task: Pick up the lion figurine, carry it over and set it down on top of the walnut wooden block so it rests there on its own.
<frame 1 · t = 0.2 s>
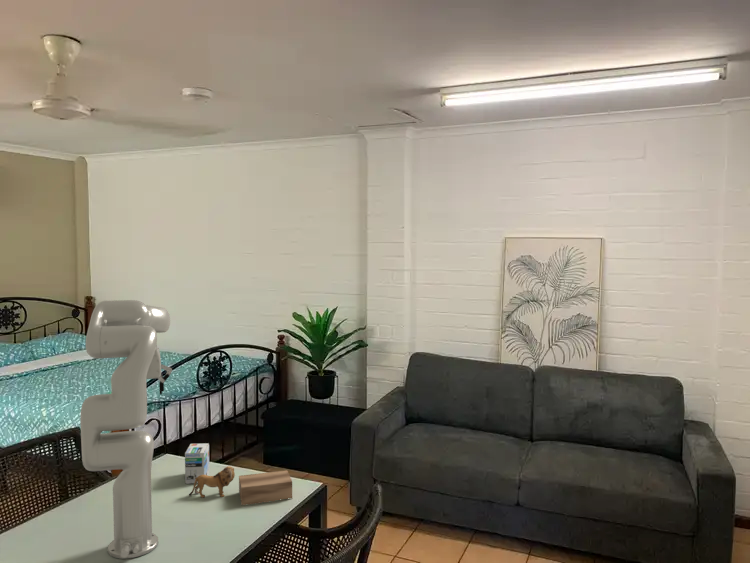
hand: (145, 394, 200), 31 cm above the table, tool pointing down, fingers open, 9 cm apart
light bulb box: (197, 478, 207), on the table
lion figurine: (213, 495, 193), on the table
walnut block: (265, 496, 192), on the table
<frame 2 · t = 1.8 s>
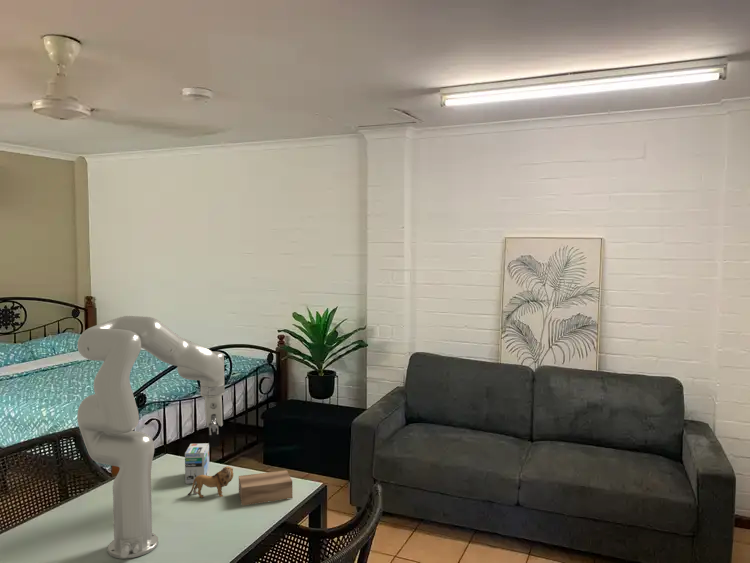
hand: (213, 441, 192), 18 cm above the table, tool pointing down, fingers open, 9 cm apart
nothing on the table moved.
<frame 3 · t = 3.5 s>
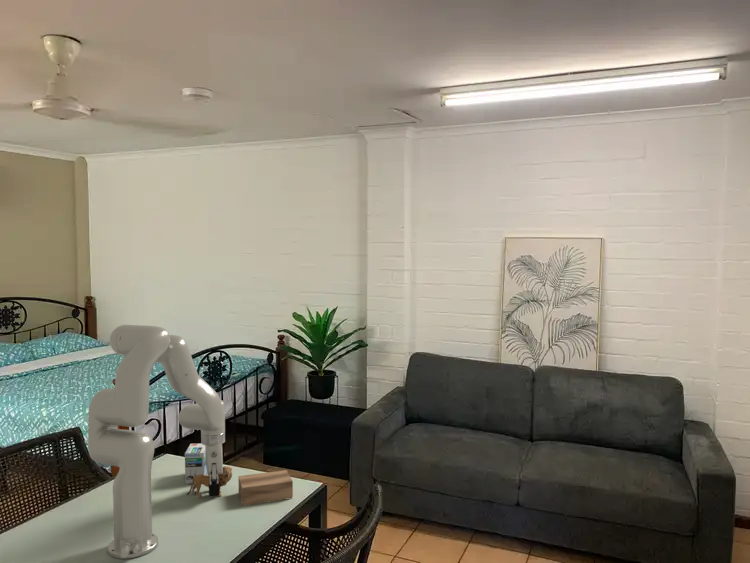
hand: (213, 491, 193), 1 cm above the table, tool pointing down, fingers open, 5 cm apart
lion figurine: (210, 494, 193), on the table, touching gripper
everything else where it was.
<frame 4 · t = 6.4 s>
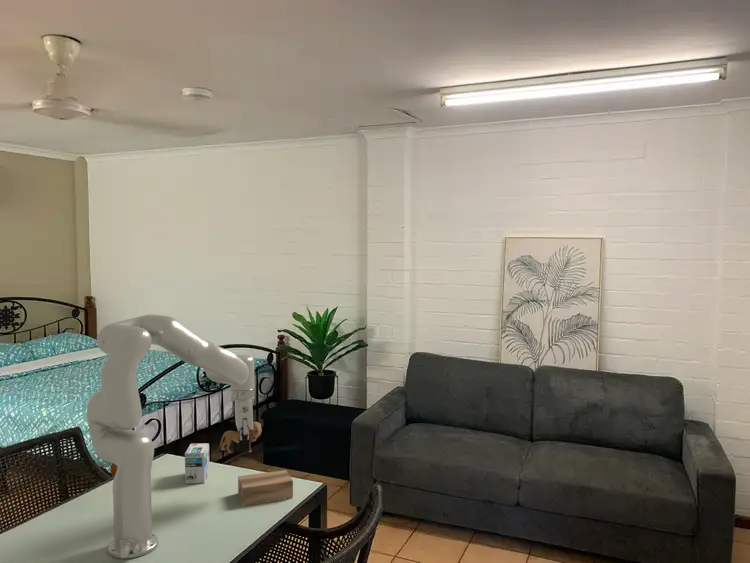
hand: (243, 448, 192), 16 cm above the table, tool pointing down, fingers closed on lion figurine, 4 cm apart
lion figurine: (240, 450, 192), point 15 cm above the table, touching gripper
everything else where it was.
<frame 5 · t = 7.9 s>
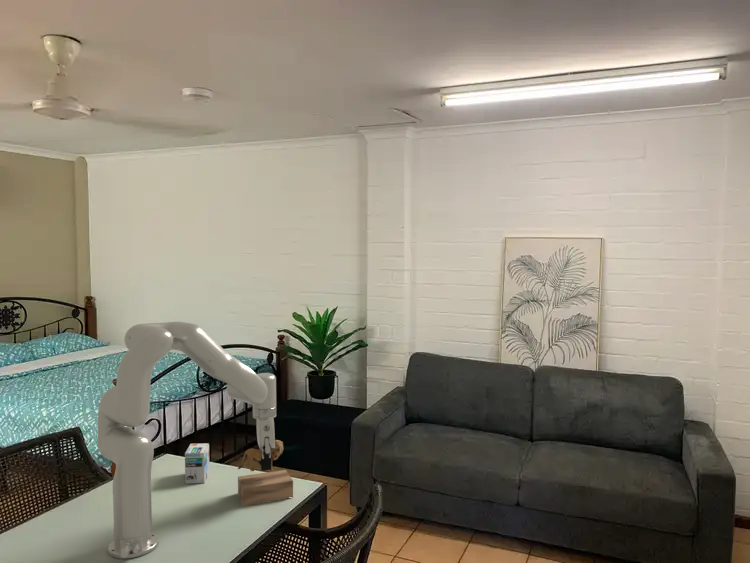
hand: (265, 466, 192), 10 cm above the table, tool pointing down, fingers closed on lion figurine, 4 cm apart
lion figurine: (262, 468, 192), point 9 cm above the table, touching gripper
everything else where it was.
when the fingers open (8 cm above the table, at t = 8.9 s): lion figurine drops 2 cm, resting on walnut block.
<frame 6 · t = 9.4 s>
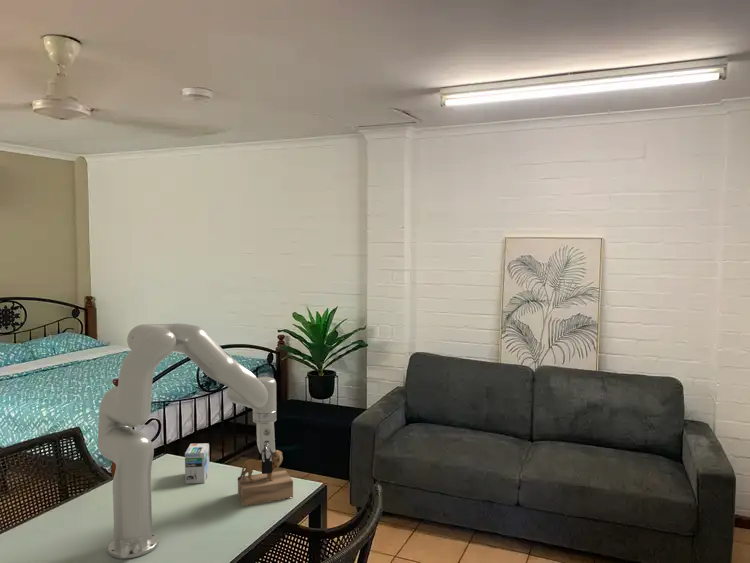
hand: (265, 467, 192), 9 cm above the table, tool pointing down, fingers open, 9 cm apart
lion figurine: (261, 479, 192), point 5 cm above the table, touching walnut block
walnut block: (265, 497, 192), on the table, touching lion figurine
everything else where it was.
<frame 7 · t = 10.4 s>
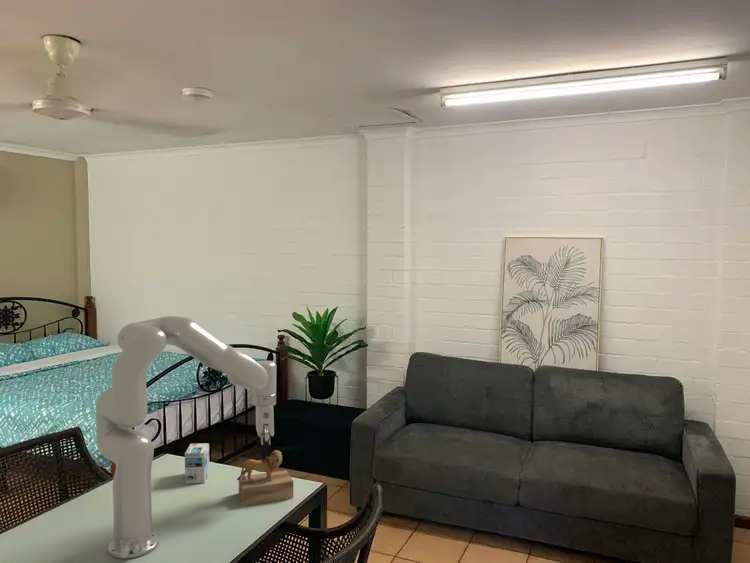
hand: (263, 451, 191), 15 cm above the table, tool pointing down, fingers open, 9 cm apart
nothing on the table moved.
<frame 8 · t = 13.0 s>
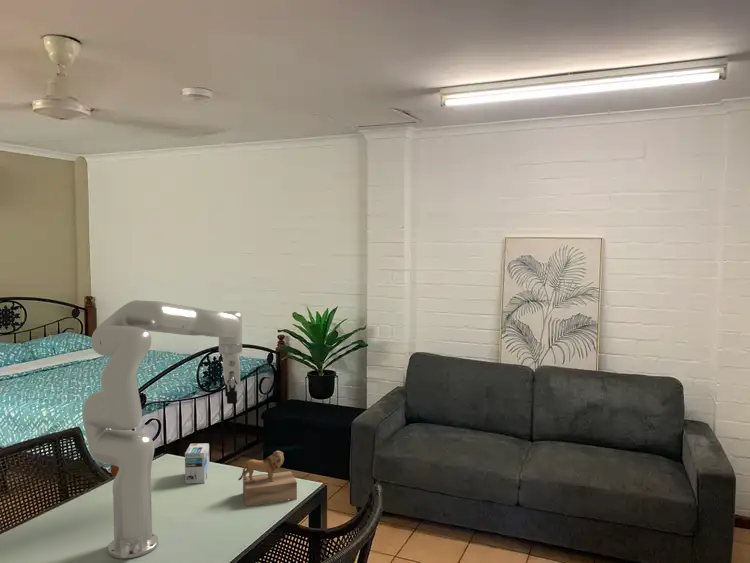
hand: (231, 399, 196), 30 cm above the table, tool pointing down, fingers open, 9 cm apart
walnut block: (269, 497, 192), on the table, touching lion figurine
everything else where it was.
at the end: lion figurine inside the target area on the walnut block (2.2 cm from its centre), point 5.9 cm above the walnut block's base; lion figurine tilted 1°; the gripper is holding nothing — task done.
